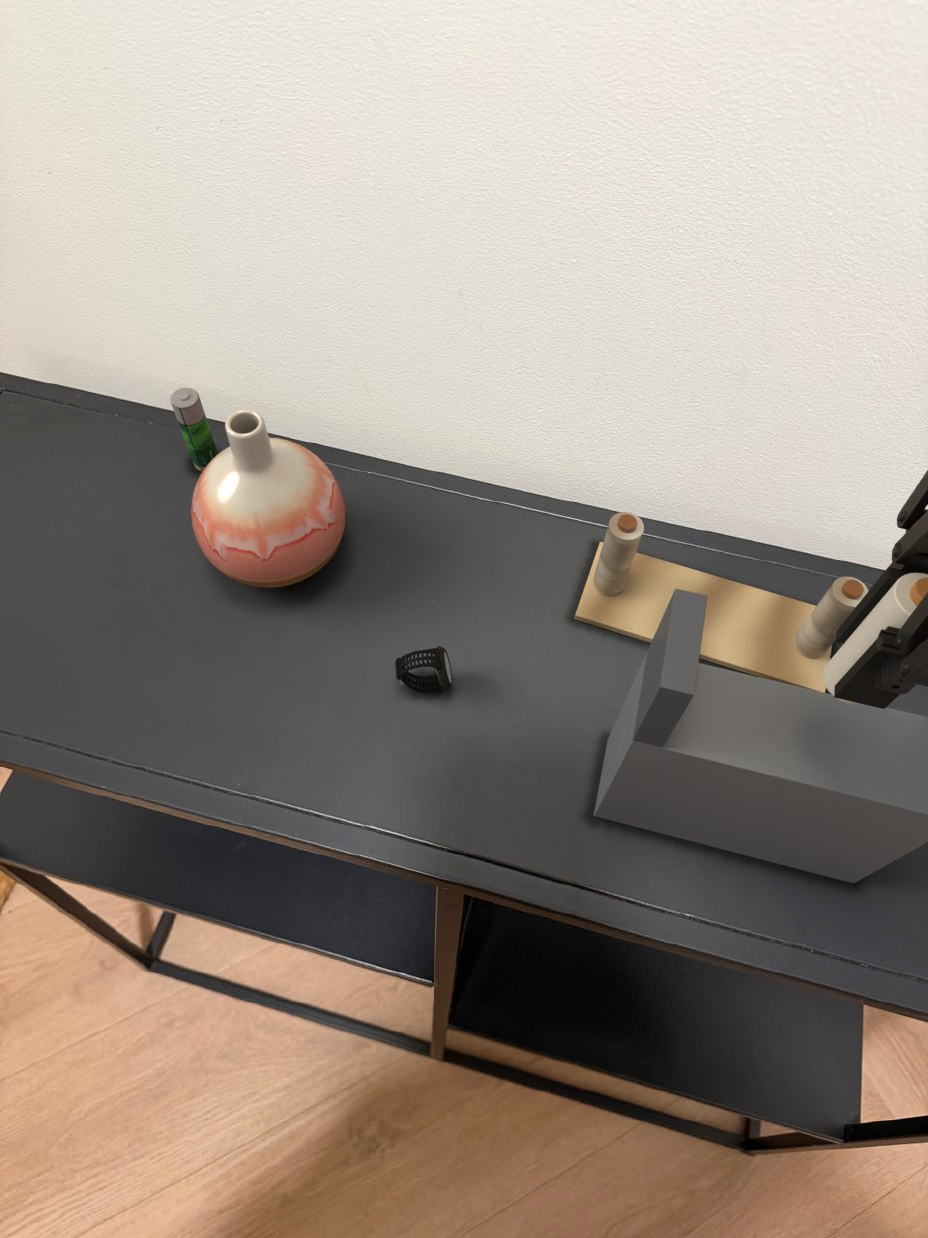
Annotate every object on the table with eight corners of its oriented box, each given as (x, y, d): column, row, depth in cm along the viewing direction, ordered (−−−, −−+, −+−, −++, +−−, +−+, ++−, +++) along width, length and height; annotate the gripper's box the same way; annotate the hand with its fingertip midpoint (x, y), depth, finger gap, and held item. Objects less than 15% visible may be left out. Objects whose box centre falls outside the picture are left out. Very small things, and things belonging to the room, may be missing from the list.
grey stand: (855, 801, 70) (1030, 668, 49) (854, 884, 66) (1041, 778, 46) (607, 739, 72) (675, 587, 51) (593, 816, 68) (659, 686, 48)
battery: (216, 449, 88) (192, 381, 79) (224, 467, 86) (201, 399, 78) (191, 458, 87) (164, 390, 79) (199, 476, 86) (173, 409, 78)
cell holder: (833, 616, 79) (884, 552, 70) (821, 697, 75) (873, 639, 66) (598, 546, 82) (618, 476, 74) (574, 619, 78) (591, 555, 69)
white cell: (884, 680, 48) (975, 590, 40) (858, 714, 47) (946, 628, 39) (838, 649, 50) (918, 554, 41) (812, 681, 48) (888, 590, 40)
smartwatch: (447, 708, 73) (447, 683, 69) (391, 693, 74) (388, 667, 69) (460, 668, 75) (461, 641, 71) (405, 654, 76) (403, 626, 71)
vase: (189, 600, 78) (129, 475, 63) (232, 487, 85) (188, 351, 70) (332, 622, 77) (306, 501, 62) (364, 506, 84) (348, 373, 69)
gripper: (1029, 173, 31) (799, 543, 52) (1081, 490, 23) (784, 783, 43) (1242, 208, 31) (924, 570, 51) (1372, 549, 23) (932, 820, 43)
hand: (860, 668), depth 47 cm, fingers closed on white cell, 3 cm apart
